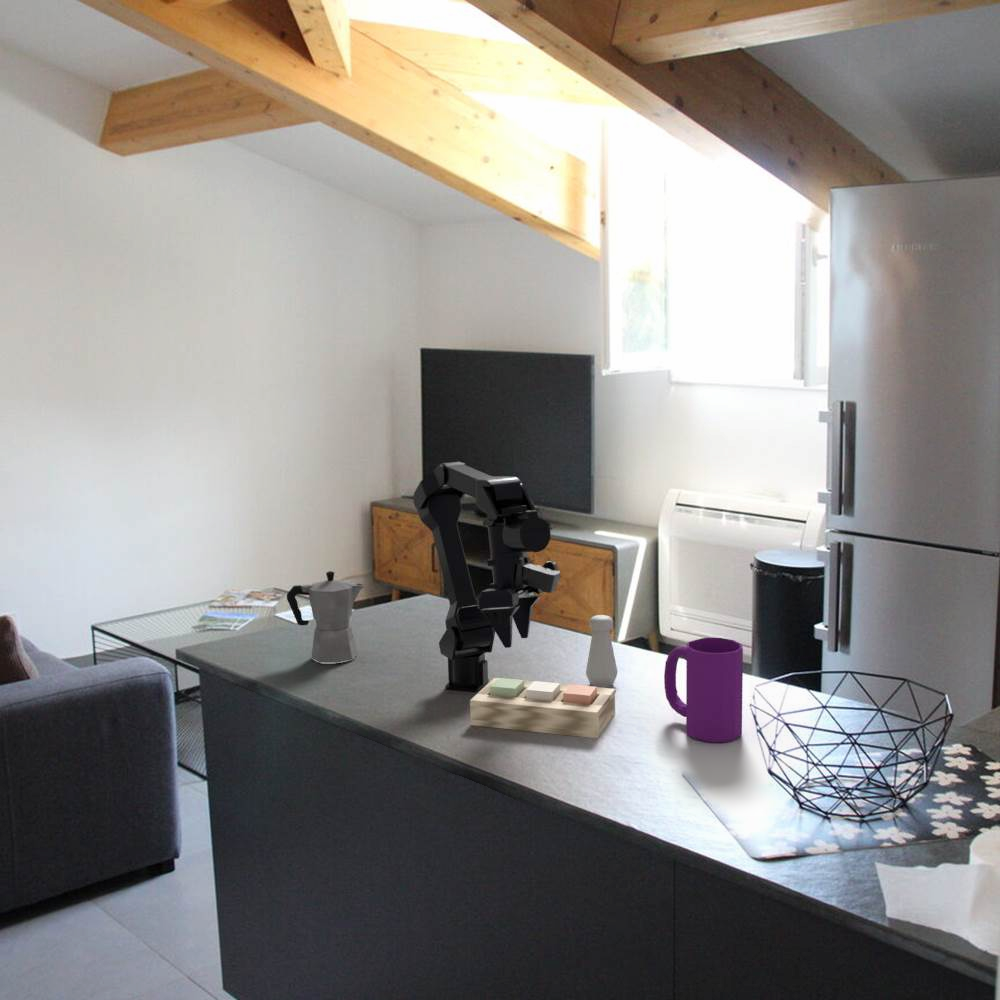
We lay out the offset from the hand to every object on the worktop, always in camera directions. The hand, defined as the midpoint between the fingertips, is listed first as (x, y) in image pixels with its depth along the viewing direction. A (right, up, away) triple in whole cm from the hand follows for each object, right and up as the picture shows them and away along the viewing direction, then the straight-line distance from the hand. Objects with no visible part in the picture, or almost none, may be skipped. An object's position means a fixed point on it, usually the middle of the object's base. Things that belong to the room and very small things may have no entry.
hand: (516, 642), depth 197 cm
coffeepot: (-37, -8, +37) cm, 53 cm away
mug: (+30, -14, -6) cm, 34 cm away
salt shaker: (+16, -10, +17) cm, 25 cm away
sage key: (-2, -10, +2) cm, 11 cm away
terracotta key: (+11, -11, -2) cm, 16 cm away
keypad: (+5, -13, 0) cm, 14 cm away
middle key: (+5, -11, 0) cm, 12 cm away
